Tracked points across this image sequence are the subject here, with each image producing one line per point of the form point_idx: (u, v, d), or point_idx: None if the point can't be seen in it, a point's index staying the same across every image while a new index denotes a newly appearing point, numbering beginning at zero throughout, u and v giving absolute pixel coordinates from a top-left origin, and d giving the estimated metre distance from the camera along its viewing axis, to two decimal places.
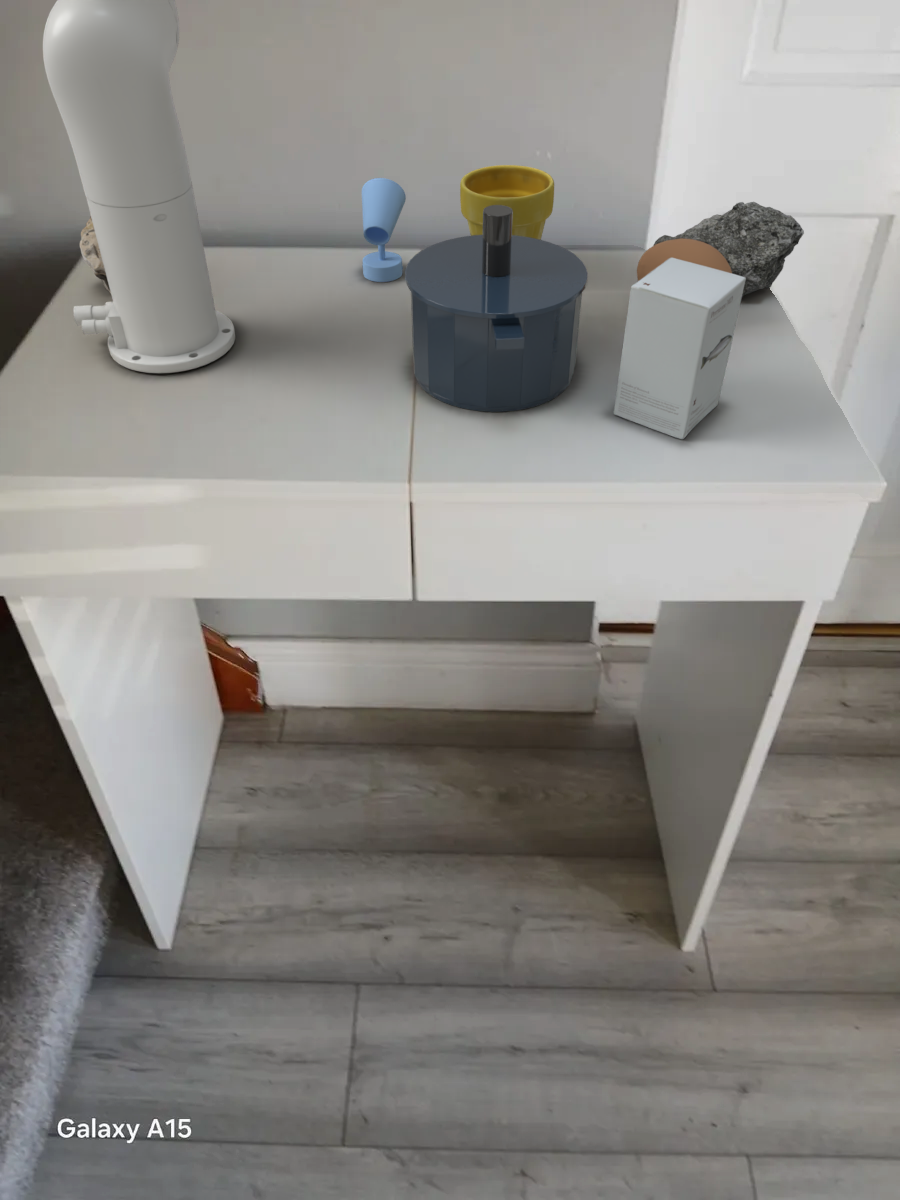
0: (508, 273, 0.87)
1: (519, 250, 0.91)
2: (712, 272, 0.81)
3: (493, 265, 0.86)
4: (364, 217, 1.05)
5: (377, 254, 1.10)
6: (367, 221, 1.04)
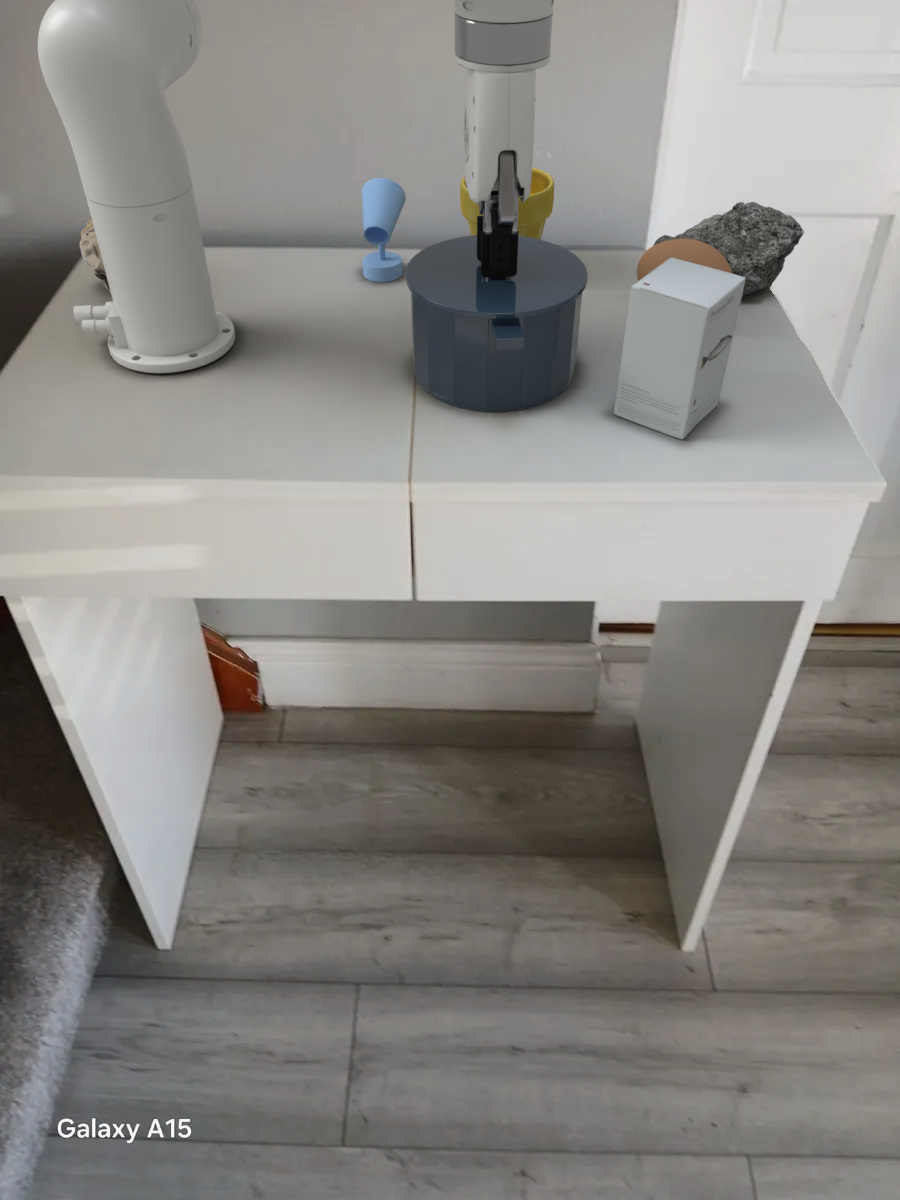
0: None
1: (519, 250, 0.91)
2: (712, 272, 0.81)
3: None
4: (364, 217, 1.05)
5: (377, 254, 1.10)
6: (367, 221, 1.04)
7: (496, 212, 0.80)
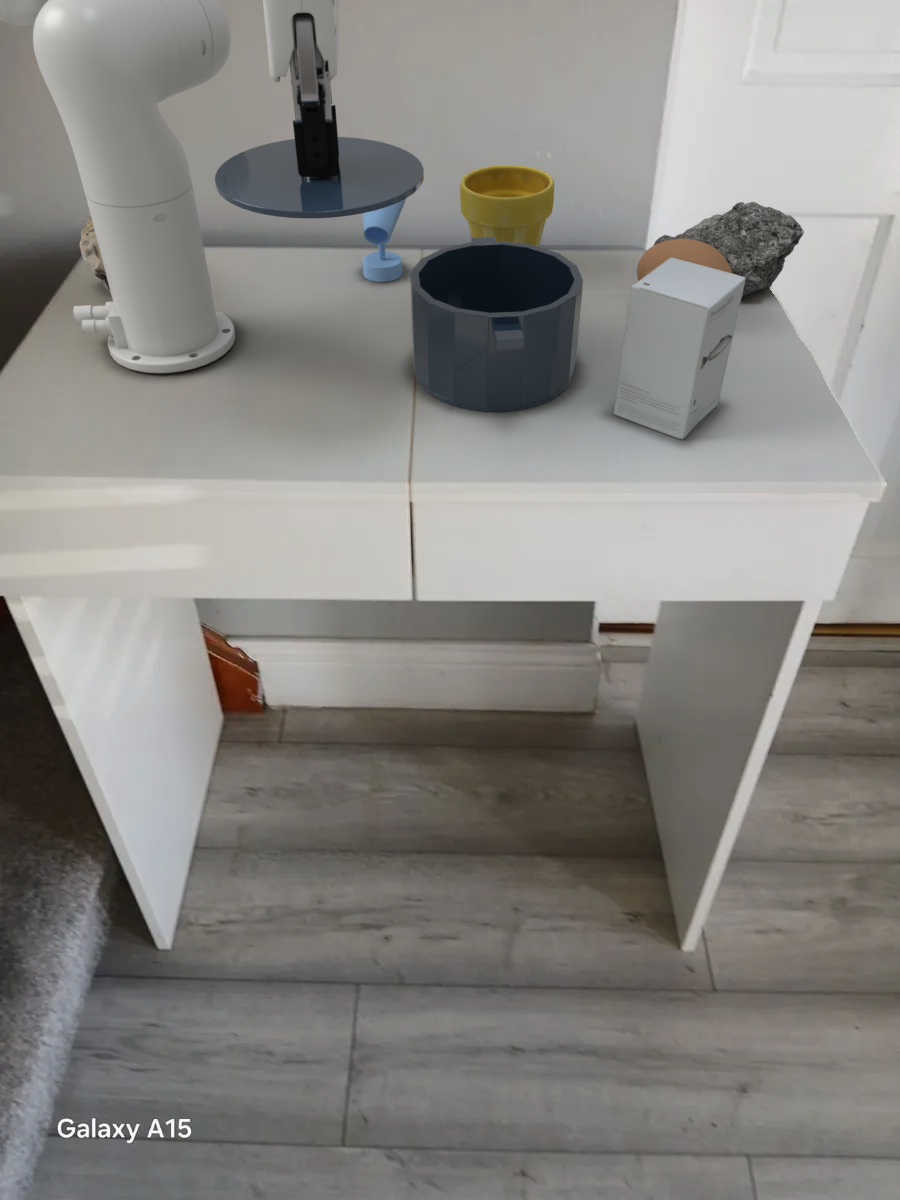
0: None
1: (353, 152, 0.80)
2: (712, 272, 0.81)
3: None
4: (364, 217, 1.05)
5: (377, 254, 1.10)
6: (367, 221, 1.04)
7: (301, 92, 0.69)
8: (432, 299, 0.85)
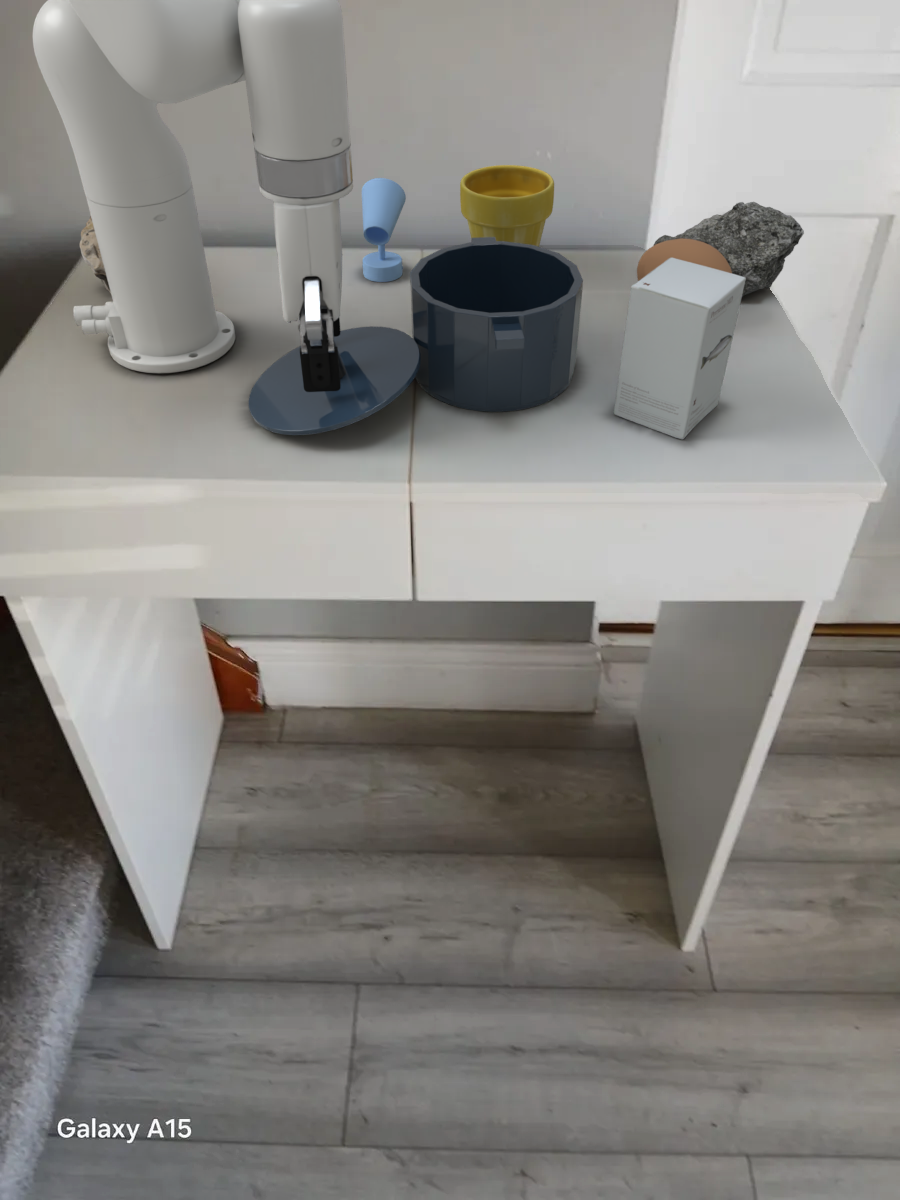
0: (343, 376, 0.88)
1: (359, 345, 0.91)
2: (712, 272, 0.81)
3: None
4: (364, 217, 1.05)
5: (377, 254, 1.10)
6: (367, 221, 1.04)
7: (307, 334, 0.78)
8: (432, 299, 0.85)
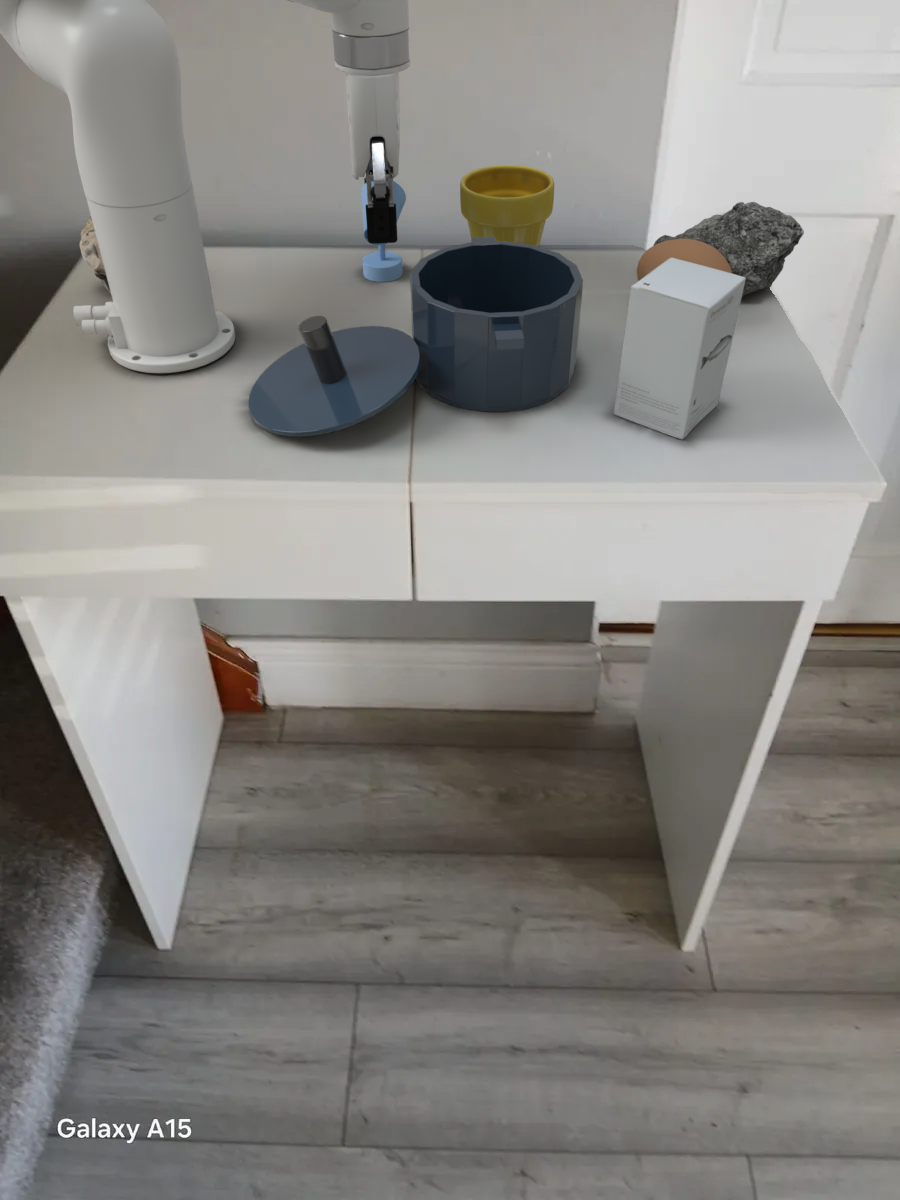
0: (343, 376, 0.88)
1: (359, 345, 0.91)
2: (712, 272, 0.81)
3: (324, 374, 0.87)
4: (364, 217, 1.05)
5: (377, 254, 1.10)
6: None
7: (373, 188, 0.98)
8: (432, 299, 0.85)
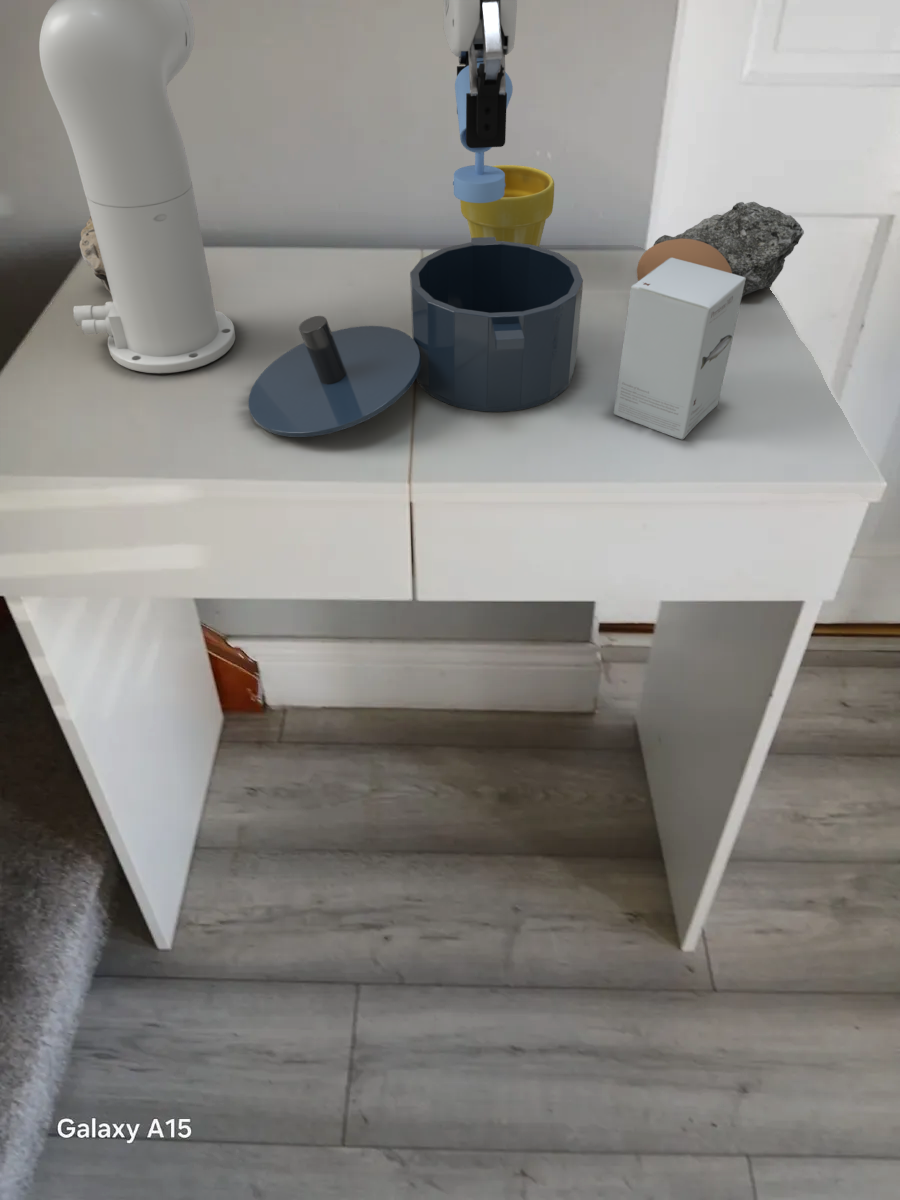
0: (343, 376, 0.88)
1: (359, 345, 0.91)
2: (712, 272, 0.81)
3: (324, 374, 0.87)
4: (461, 114, 0.80)
5: (472, 168, 0.85)
6: None
7: (482, 65, 0.73)
8: (432, 299, 0.85)
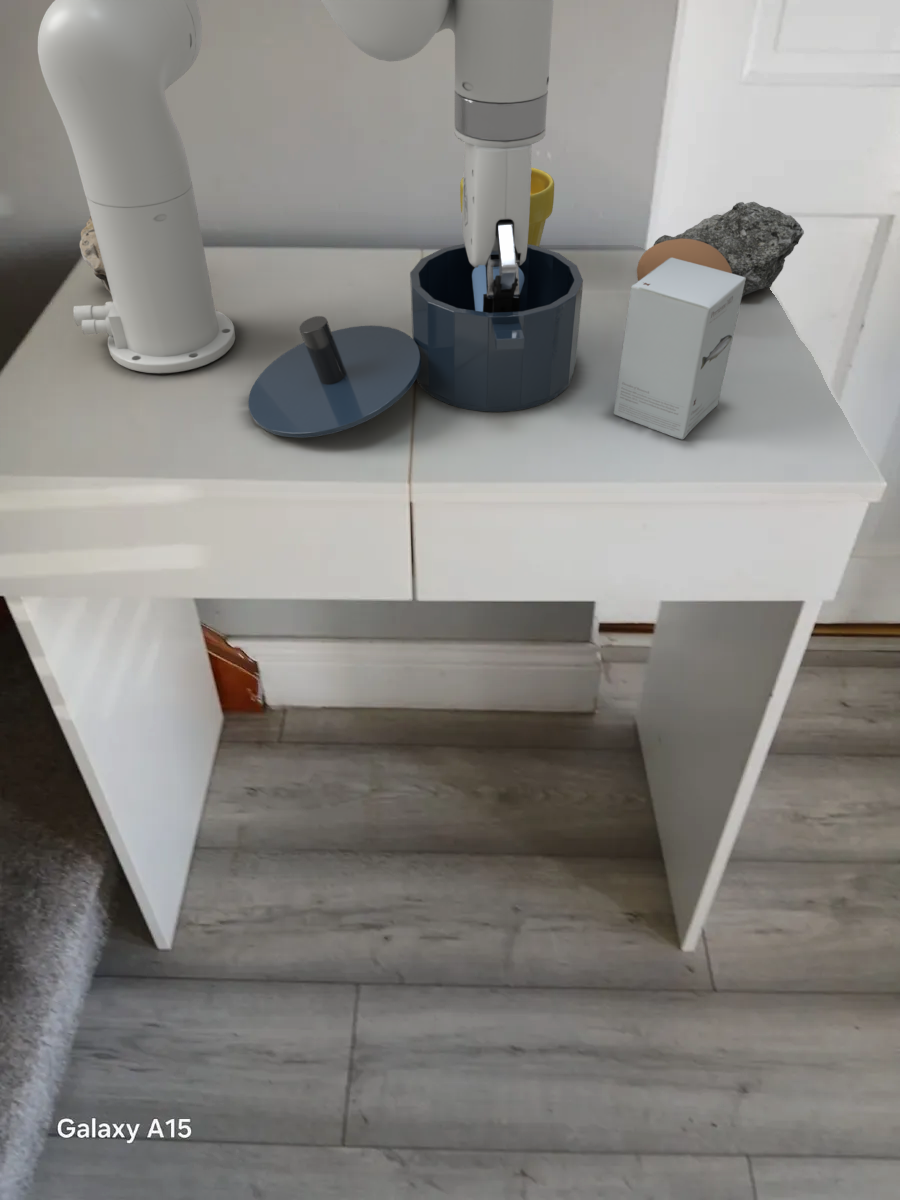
0: (343, 377, 0.88)
1: (359, 345, 0.91)
2: (712, 272, 0.81)
3: (325, 374, 0.87)
4: (478, 306, 0.88)
5: None
6: None
7: (498, 278, 0.81)
8: (432, 299, 0.85)
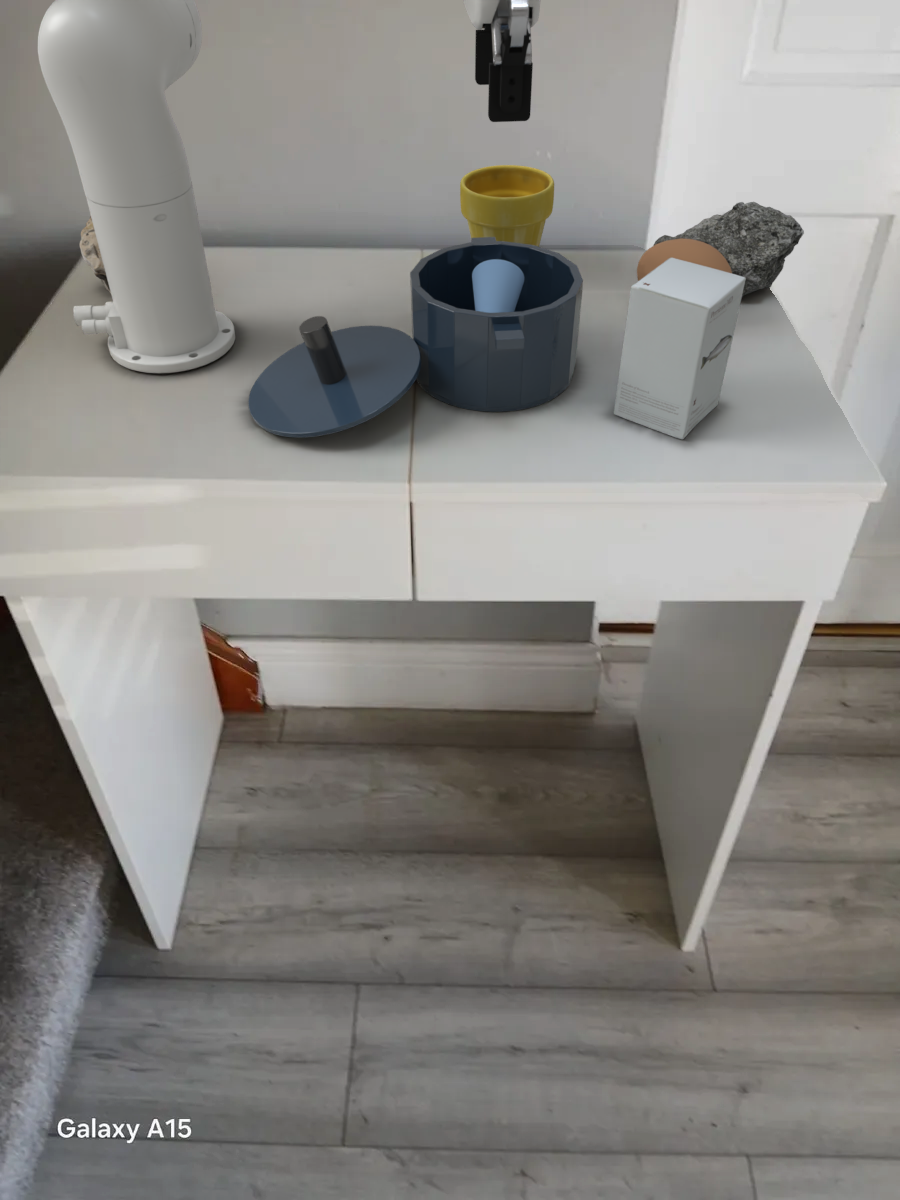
0: (343, 377, 0.88)
1: (359, 345, 0.91)
2: (712, 272, 0.81)
3: (324, 374, 0.87)
4: (478, 306, 0.88)
5: None
6: None
7: (507, 31, 0.68)
8: (432, 299, 0.85)
